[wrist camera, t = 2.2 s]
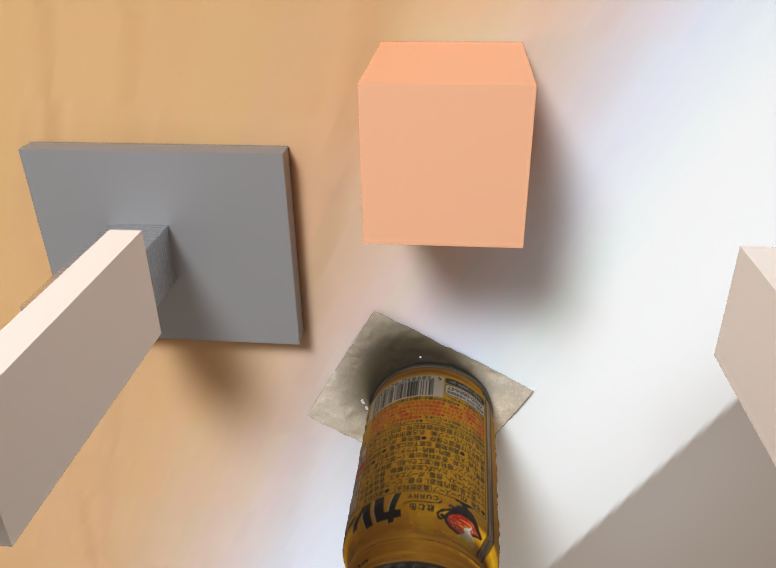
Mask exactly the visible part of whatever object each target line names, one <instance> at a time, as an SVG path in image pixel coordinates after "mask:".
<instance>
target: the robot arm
mask: <svg viewBox="0 0 776 568" xmlns="http://www.w3.org/2000/svg"><path fill="white" fill-rule="evenodd" d="M160 335H161V329H160V324H159V318H158V313H157V308H156V303H155V297H154V292H153V287H152V282H151V276H150V271H149V266H148V261H147V255H146V250H145V245H144V240H143V234H142V230H108V231H107V232H106V233H105V234H104V235H103V236H102V237H101V238H100V239H99V240H98V241H97V242H96V243H94V244H93V245H92V246H91V247H90V248H89V249H88V250H87V251H86V252H85V253H84V254H83V255H82V256H80V257H79V258H78V259H77V260H76V261H75V262H74V263H73V264H72V265H71V266H70V267H69V268H68V269H67V270H65V271H64V272H63V273H62V274H61V275H60V276H59V277H58V278H57V279H56V280H55V281H54V282H53V283H51V284H50V285H49V286H48V287H47V288H46V289H45V290H44V291H43V292H42V293H41V294H40V295H39V296H37V297H36V298H35V299H34V300H33V301H32V302H31V303H30V304H29V305H28V306H27V307H26V308H25V309H23V310H22V311H21V312H20V313H19V314H18V315H17V316H16V317H15V318H14V319H13V320H12V321H11V322H9V323H8V324H7V325H6V326H5V327H4V328H3V329H2V330H1V331H0V546H9V547H12V546H13V545H14V543H15V542H16V541H17V539H18V538H19V536H20V535H21V533H22V532H23V531H24V529H25V528H26V526H27V525H28V523H29V522H30V521H31V519H32V518H33V516H34V515H35V513H36V512H37V511H38V509H39V508H40V506H41V505H42V503H43V502H44V501H45V499H46V498H47V496H48V495H49V493H50V492H51V491H52V489H53V488H54V486H55V485H56V483H57V482H58V481H59V479H60V478H61V476H62V475H63V473H64V472H65V470H66V469H67V468H68V466H69V465H70V463H71V462H72V460H73V459H74V458H75V456H76V455H77V453H78V452H79V450H80V449H81V448H82V446H83V445H84V443H85V442H86V440H87V439H88V438H89V436H90V435H91V433H92V432H93V430H94V429H95V428H96V426H97V425H98V423H99V422H100V420H101V419H102V418H103V416H104V415H105V413H106V412H107V410H108V409H109V408H110V406H111V405H112V403H113V402H114V400H115V399H116V397H117V396H118V395H119V393H120V392H121V390H122V389H123V387H124V386H125V385H126V383H127V382H128V380H129V379H130V377H131V376H132V375H133V373H134V372H135V370H136V369H137V367H138V366H139V365H140V363H141V362H142V360H143V359H144V357H145V356H146V355H147V353H148V352H149V350H150V349H151V347H152V346H153V345H154V343H155V342H156V340H157V339H158V337H159V336H160ZM714 356H715V357H716V359H717V361H718V363H719V365H720V366H721V368H722V370H723V372H724V374H725V376H726V377H727V379H728V381H729V383H730V385H731V386H732V388H733V390H734V392H735V394H736V396H737V397H738V399H739V401H740V403H741V405H742V407H743V408H744V410H745V412H746V414H747V416H748V417H749V419H750V421H751V423H752V425H753V426H754V428H755V430H756V432H757V434H758V435H759V437H760V439H761V441H762V443H763V445H764V447H765V448H766V450H767V452H768V454H769V455H770V457H771V459H772V461H773V463H774V465H775V467H776V247H755V246H740V249H739V253H738V258H737V262H736V266H735V270H734V274H733V278H732V283H731V287H730V291H729V295H728V299H727V304H726V308H725V312H724V316H723V320H722V324H721V329H720V333H719V337H718V341H717V345H716V350H715V354H714Z"/></svg>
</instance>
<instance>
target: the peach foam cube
mask: <svg viewBox="0 0 776 568" xmlns="http://www.w3.org/2000/svg"><path fill="white" fill-rule="evenodd" d="M536 89H537V84H536V82H535V79H534V76H533V73H532V70H531V67H530V64H529V61H528V58H527V55H526V52H525V49H524V47H523V44H522V42H381V43H380V45H379V47H378V49H377V50H376V52H375V54H374V56H373V58H372V59H371V61H370V63H369V65H368V66H367V68H366V70H365V72H364V73H363V75H362V77H361V79H360V81H359V82H358V109H359V138H360V166H361V195H362V223H363V243H365V244H399V245H433V246H468V247H502V248H523V243H524V232H525V220H526V208H527V196H528V184H529V172H530V160H531V149H532V137H533V125H534V113H535V101H536Z"/></svg>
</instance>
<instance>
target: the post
mask: <svg viewBox="0 0 776 568" xmlns="http://www.w3.org/2000/svg"><path fill="white" fill-rule="evenodd" d="M108 230H142V234H143V240H144V245H145V250H146V255H147V261H148V266H149V271H150V276H151V282H152V287H153V292H154V297H155V303H156V308H157V306H158V305H159V304H160V302H161V301H162V300H163V298H164V297H165V296H166V294H167V293H168V291H169V290H170V289H171V287H172V286H173V285H174V283H175V282H176V281H177V279H178V277H177V271H176V265H175V260H174V254H173V249H172V243H171V237H170V232H169V226H168V225H157V224H121V223H109V224H108V225H107V226H106V227H105V228H104V229H103V230H102V231H100V232H99V233H98V234H97V235H96V236H95V237H94V238H93V239H92V240H91V241H90V242H89V243H88V244H87V245H85V246H84V247H83V248H82V249H81V250H80V251H79V252H78V253H77V254H76V255H75V256H74V257H73V258H72V259H71V260H69V261H68V262H67V263H66V264H65V265H64V266H63V267H62V268H61V269H60V270H59V271H58V272H57V273H56V274H55V275H53V276H52V277H51V278H50V279H49V280H48V281H47V282H46V283H45V284H44V285H43V286H42V287H41V288H40V289H39V290H37V291H36V292H35V293H34V294H33V295H32V296H31V297H30V298H29V299H28V300H27V301H26V302H25V303H24V304H22V305H21V306H20V308H21V311H22V310H23V309H25V308H26V307H27V306H28V305H29V304H30V303H31V302H32V301H33V300H34V299H35V298H36V297H37V296H39V295H40V294H41V293H42V292H43V291H44V290H45V289H46V288H47V287H48V286H49V285H50V284H51V283H53V282H54V281H55V280H56V279H57V278H58V277H59V276H60V275H61V274H62V273H63V272H64V271H65V270H67V269H68V268H69V267H70V266H71V265H72V264H73V263H74V262H75V261H76V260H77V259H78V258H79V257H80V256H82V255H83V254H84V253H85V252H86V251H87V250H88V249H89V248H90V247H91V246H92V245H93V244H94V243H96V242H97V241H98V240H99V239H100V238H101V237H102V236H103V235H104V234H105V233H106V232H107V231H108Z"/></svg>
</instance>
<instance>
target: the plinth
mask: <svg viewBox="0 0 776 568" xmlns="http://www.w3.org/2000/svg"><path fill="white" fill-rule="evenodd" d="M18 150H19V153H20V157H21V161H22V164H23V168H24V172H25V175H26V179H27V183H28V186H29V190H30V194H31V197H32V201H33V205H34V208H35V212H36V216H37V219H38V223H39V227H40V230H41V234H42V238H43V241H44V245H45V249H46V252H47V256H48V260H49V263H50V267H51V271H52V274H53V275H55V274H56V273H57V272H58V271H59V270H60V269H61V268H62V267H63V266H64V265H65V264H66V263H67V262H68V261H69V260H71V259H72V258H73V257H74V256H75V255H76V254H77V253H78V252H79V251H80V250H81V249H82V248H83V247H84V246H85V245H87V244H88V243H89V242H90V241H91V240H92V239H93V238H94V237H95V236H96V235H97V234H98V233H99V232H100V231H102V230H103V229H104V228H105V227H106V226H107V225H108V224H109V223H121V224H157V225H168V226H169V232H170V237H171V243H172V249H173V254H174V260H175V265H176V271H177V277H178V279H177V281H176V282H175V283H174V285H173V286H172V287H171V289H170V290H169V291H168V293H167V294H166V296H165V297H164V298H163V300H162V301H161V302H160V304H159V305H158V306H157V313H158V318H159V324H160V329H161V335H160V336H159V337H158V338H159V339H183V340H206V341H229V342H253V343H276V344H300V342H301V339H302V336H303V333H304V329H303V317H302V305H301V294H300V282H299V270H298V258H297V246H296V235H295V223H294V211H293V199H292V187H291V176H290V164H289V152H288V146H250V145H190V144H130V143H71V142H30V143H29V144H27V145H25V146H23V147H22V148H20V149H18Z"/></svg>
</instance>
